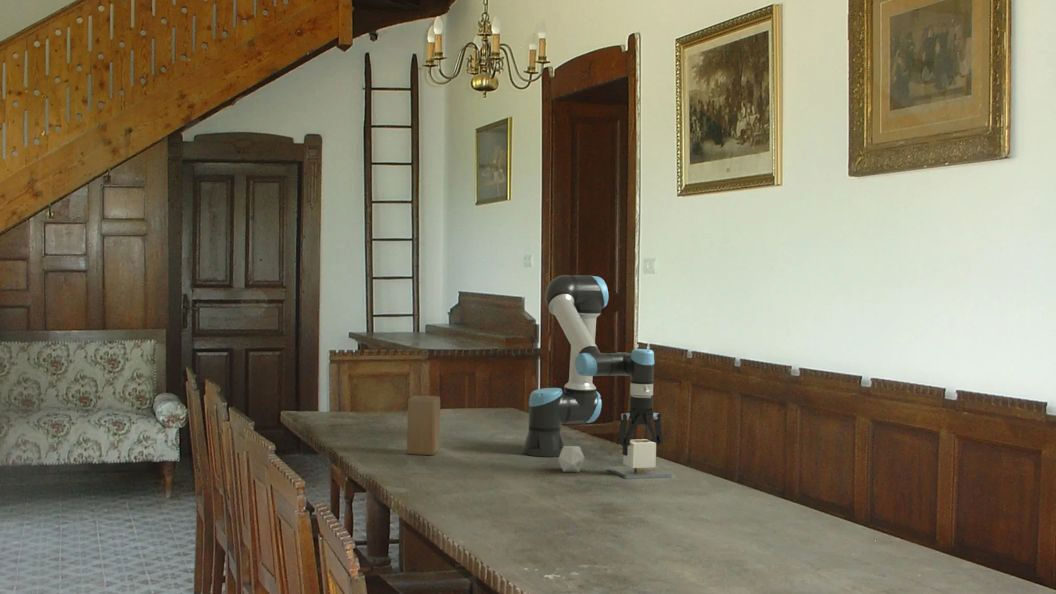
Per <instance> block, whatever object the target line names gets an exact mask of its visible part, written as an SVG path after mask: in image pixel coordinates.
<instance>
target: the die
mask: <svg viewBox="0 0 1056 594" xmlns="http://www.w3.org/2000/svg"><path fill="white" fill-rule="evenodd" d="M584 460H585V455H584V453H583V451H582V449H581V447H580V446H576V445H575V446H574V445H569V446H568V445H564V446H563V449H562V451H561V453H560V456H558V460H557V461H558V463H559V465H560V467H561V470H562V472H565V473H567V472H569V473H570V472H571V473H579V472H580V470H581V469H582V466H583V465H584Z"/></svg>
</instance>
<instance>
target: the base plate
mask: <svg viewBox="0 0 1056 594" xmlns="http://www.w3.org/2000/svg"><path fill="white" fill-rule="evenodd" d="M635 442H636V443H643V441H635ZM607 471H609V472H611V473H613V474H615V475H618V476H619V477H621V478H624V479H625V480H630V479H654V478H655V479H663V478H672V476H673V475H672V473H669V472H668V471H665V470H663V469H660V468H658V467H657V466H655V467H651V468H632V467H629V466H627V465H623V466H620V465H619V466H617V465H616V466H607Z"/></svg>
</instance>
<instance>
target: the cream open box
mask: <svg viewBox="0 0 1056 594" xmlns="http://www.w3.org/2000/svg"><path fill="white" fill-rule="evenodd" d="M635 441H643V443H636V442H635ZM628 445H629V446H630V466H629V467H632V468H651V467H657V466H656V463H657V461H656V459H657V454H656V443H655V442H652V441H651V440H650V439H646V438H645V439H644V438H642V439H631V440H630V442H629V444H628ZM622 461H623V464H624V465H625V455H623V460H622Z"/></svg>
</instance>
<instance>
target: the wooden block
mask: <svg viewBox="0 0 1056 594" xmlns="http://www.w3.org/2000/svg"><path fill="white" fill-rule="evenodd" d="M440 421H441V397H440V396H438V395H419V394H418V395H417V394H416V395H415V394H414V395H413V396H411V397H409V398H408V401H407V432H406V433H407V434H406V437H407V438H406V441H407V442H406V453H407V455H411V456H412V455H415V456H419V455H420V456H434V455H436V454H437V453H438V452H439V450H440V428H441V427H440V425H441V423H440Z"/></svg>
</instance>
